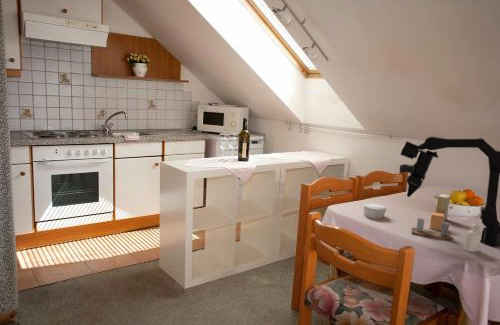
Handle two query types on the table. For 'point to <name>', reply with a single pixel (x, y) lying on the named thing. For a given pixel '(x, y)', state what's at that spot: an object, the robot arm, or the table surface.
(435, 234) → the board
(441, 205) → the skincare box
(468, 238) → the eye dropper bottle
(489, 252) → the table surface
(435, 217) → the orange block
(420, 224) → the far post
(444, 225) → the near post
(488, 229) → the robot arm
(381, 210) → the ramekin
